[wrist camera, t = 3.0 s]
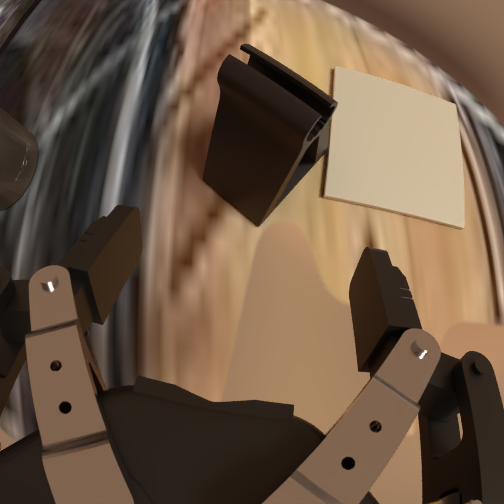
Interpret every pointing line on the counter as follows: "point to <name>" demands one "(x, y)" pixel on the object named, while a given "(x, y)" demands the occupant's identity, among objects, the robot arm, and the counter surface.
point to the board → (394, 149)
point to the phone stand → (264, 132)
